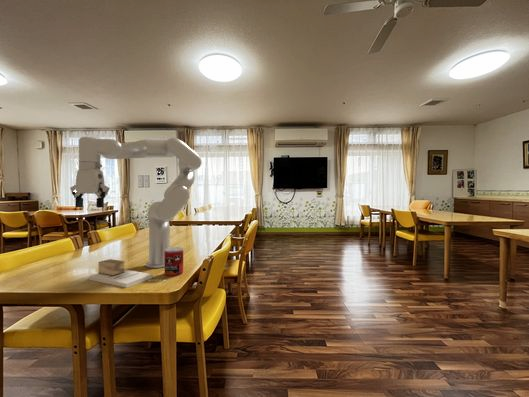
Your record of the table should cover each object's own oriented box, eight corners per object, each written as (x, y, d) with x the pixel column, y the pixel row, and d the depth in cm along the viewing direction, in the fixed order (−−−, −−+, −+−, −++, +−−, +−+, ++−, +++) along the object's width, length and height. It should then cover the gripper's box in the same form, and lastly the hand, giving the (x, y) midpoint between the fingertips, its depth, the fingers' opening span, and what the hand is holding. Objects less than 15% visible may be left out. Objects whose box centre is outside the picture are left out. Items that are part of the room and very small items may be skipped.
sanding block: (110, 270, 107) (110, 259, 107) (124, 272, 103) (124, 261, 103) (98, 273, 102) (98, 261, 102) (112, 276, 99) (112, 264, 99)
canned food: (160, 276, 104) (160, 250, 104) (170, 270, 112) (170, 246, 112) (177, 277, 103) (177, 251, 103) (186, 271, 111) (186, 247, 111)
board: (116, 271, 110) (116, 268, 110) (152, 277, 102) (152, 274, 102) (88, 279, 99) (88, 275, 99) (126, 287, 91) (126, 283, 91)
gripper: (115, 168, 106) (114, 207, 106) (79, 168, 108) (78, 206, 108) (101, 165, 98) (101, 207, 98) (63, 166, 100) (63, 207, 100)
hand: (89, 207), depth 103 cm, fingers open, 9 cm apart
